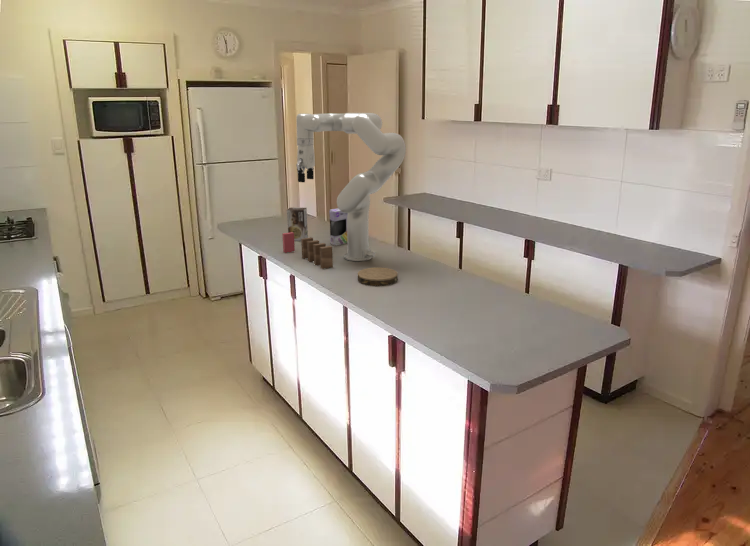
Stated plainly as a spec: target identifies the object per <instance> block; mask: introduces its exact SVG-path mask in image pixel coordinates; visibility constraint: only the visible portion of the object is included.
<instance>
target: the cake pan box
mask: <svg viewBox="0 0 750 546" xmlns="http://www.w3.org/2000/svg"><path fill="white" fill-rule="evenodd" d="M328 213H329V238H330V239H329V240H330V244H331V245H332V244H333V245H332V246H335V245H336V246H340V245H343V244H347V215H348V213H344V212H342V211H340V210H339V208H338V207H337V208H332V209H329V212H328Z"/></svg>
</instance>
